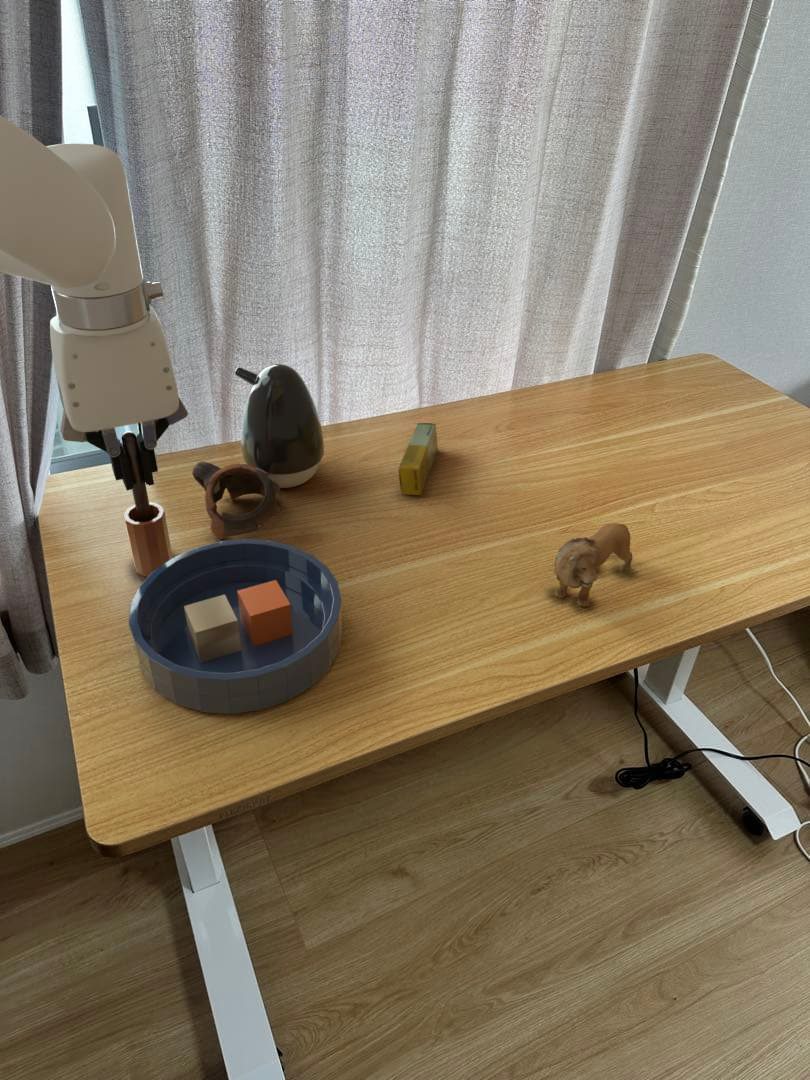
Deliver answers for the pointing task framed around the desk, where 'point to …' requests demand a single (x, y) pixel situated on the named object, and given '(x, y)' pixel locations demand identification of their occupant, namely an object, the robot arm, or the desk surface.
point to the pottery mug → (237, 484)
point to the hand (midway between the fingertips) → (137, 479)
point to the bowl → (255, 669)
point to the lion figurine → (590, 559)
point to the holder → (148, 539)
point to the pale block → (212, 628)
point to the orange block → (265, 612)
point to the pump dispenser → (281, 426)
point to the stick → (137, 477)
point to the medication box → (418, 459)
